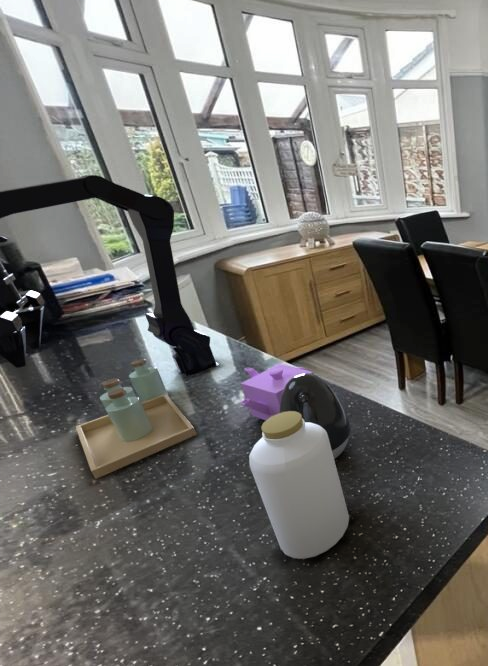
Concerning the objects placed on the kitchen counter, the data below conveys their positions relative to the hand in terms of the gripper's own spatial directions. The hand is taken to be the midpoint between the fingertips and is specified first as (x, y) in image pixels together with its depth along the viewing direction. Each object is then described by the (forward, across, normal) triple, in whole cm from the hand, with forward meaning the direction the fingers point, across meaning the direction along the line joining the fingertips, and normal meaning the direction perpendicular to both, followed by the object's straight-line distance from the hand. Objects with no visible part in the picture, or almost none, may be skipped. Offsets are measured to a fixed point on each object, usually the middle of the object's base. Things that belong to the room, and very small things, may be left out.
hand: (29, 357), depth 71 cm
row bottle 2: (+13, +16, +12) cm, 24 cm away
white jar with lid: (+14, +59, +32) cm, 68 cm away
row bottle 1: (+13, +11, +10) cm, 20 cm away
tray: (+14, +16, +12) cm, 24 cm away
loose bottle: (+14, +3, +14) cm, 20 cm away
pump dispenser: (+14, +43, +37) cm, 58 cm away
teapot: (+14, +28, +34) cm, 46 cm away
